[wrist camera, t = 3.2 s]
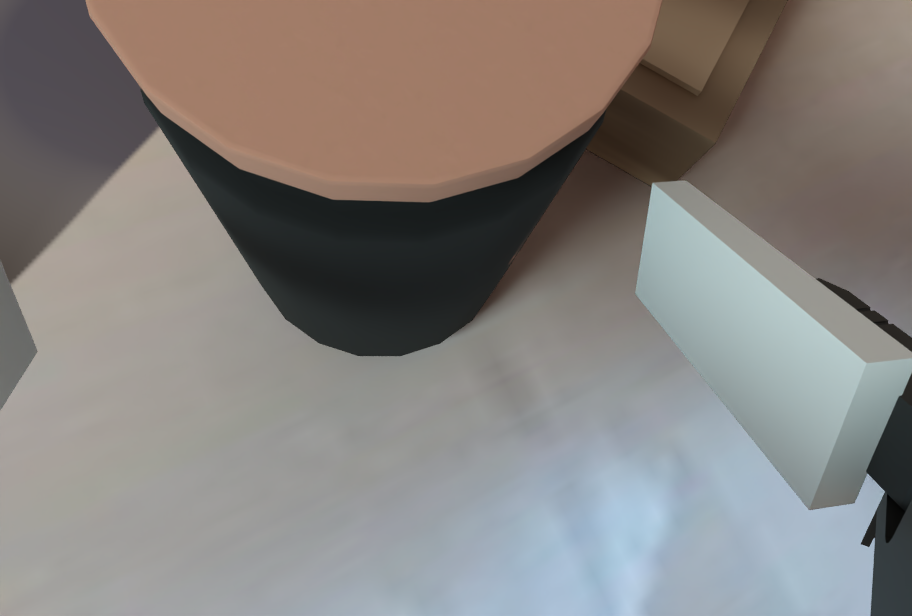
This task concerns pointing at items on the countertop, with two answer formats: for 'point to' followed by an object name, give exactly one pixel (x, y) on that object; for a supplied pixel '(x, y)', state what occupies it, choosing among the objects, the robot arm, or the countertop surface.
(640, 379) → the countertop surface
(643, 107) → the wooden tray
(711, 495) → the countertop surface
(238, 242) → the coffee jar
